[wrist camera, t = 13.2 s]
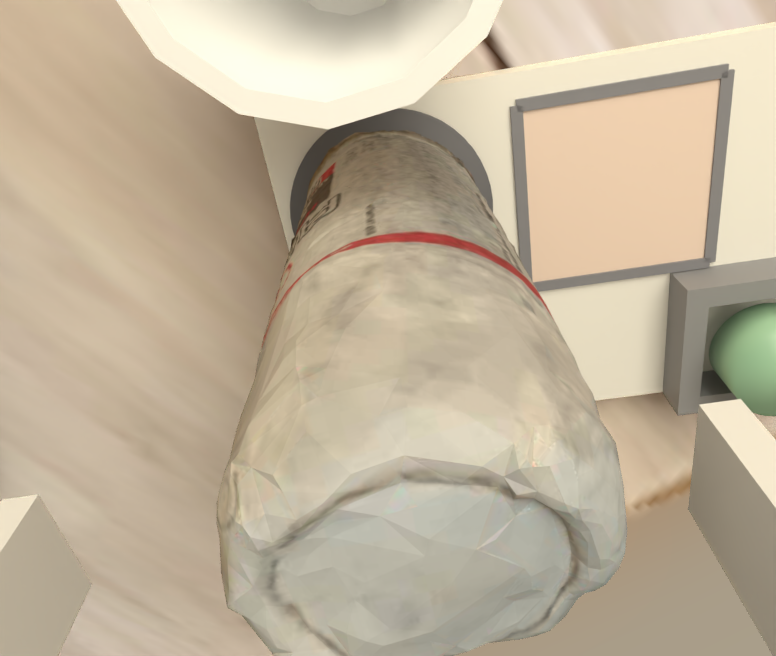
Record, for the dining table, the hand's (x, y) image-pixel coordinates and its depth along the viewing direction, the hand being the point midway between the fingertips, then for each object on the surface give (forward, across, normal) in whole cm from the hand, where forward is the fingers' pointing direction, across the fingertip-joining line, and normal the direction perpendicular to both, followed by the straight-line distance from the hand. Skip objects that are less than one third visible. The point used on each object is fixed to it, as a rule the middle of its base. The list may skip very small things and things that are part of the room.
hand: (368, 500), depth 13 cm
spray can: (+17, +1, 0) cm, 17 cm away
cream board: (+19, +9, -4) cm, 21 cm away
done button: (+16, +17, -9) cm, 24 cm away
